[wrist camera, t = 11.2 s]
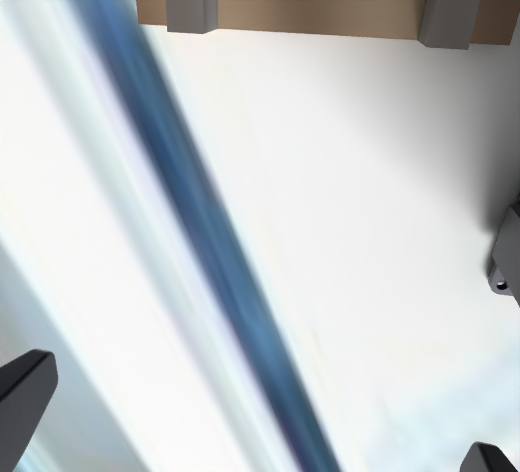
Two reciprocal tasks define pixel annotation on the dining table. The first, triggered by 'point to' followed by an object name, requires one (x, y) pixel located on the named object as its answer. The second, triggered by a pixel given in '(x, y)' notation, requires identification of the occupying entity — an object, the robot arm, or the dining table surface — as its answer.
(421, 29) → the rail board
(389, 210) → the dining table surface
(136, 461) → the dining table surface
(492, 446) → the robot arm
